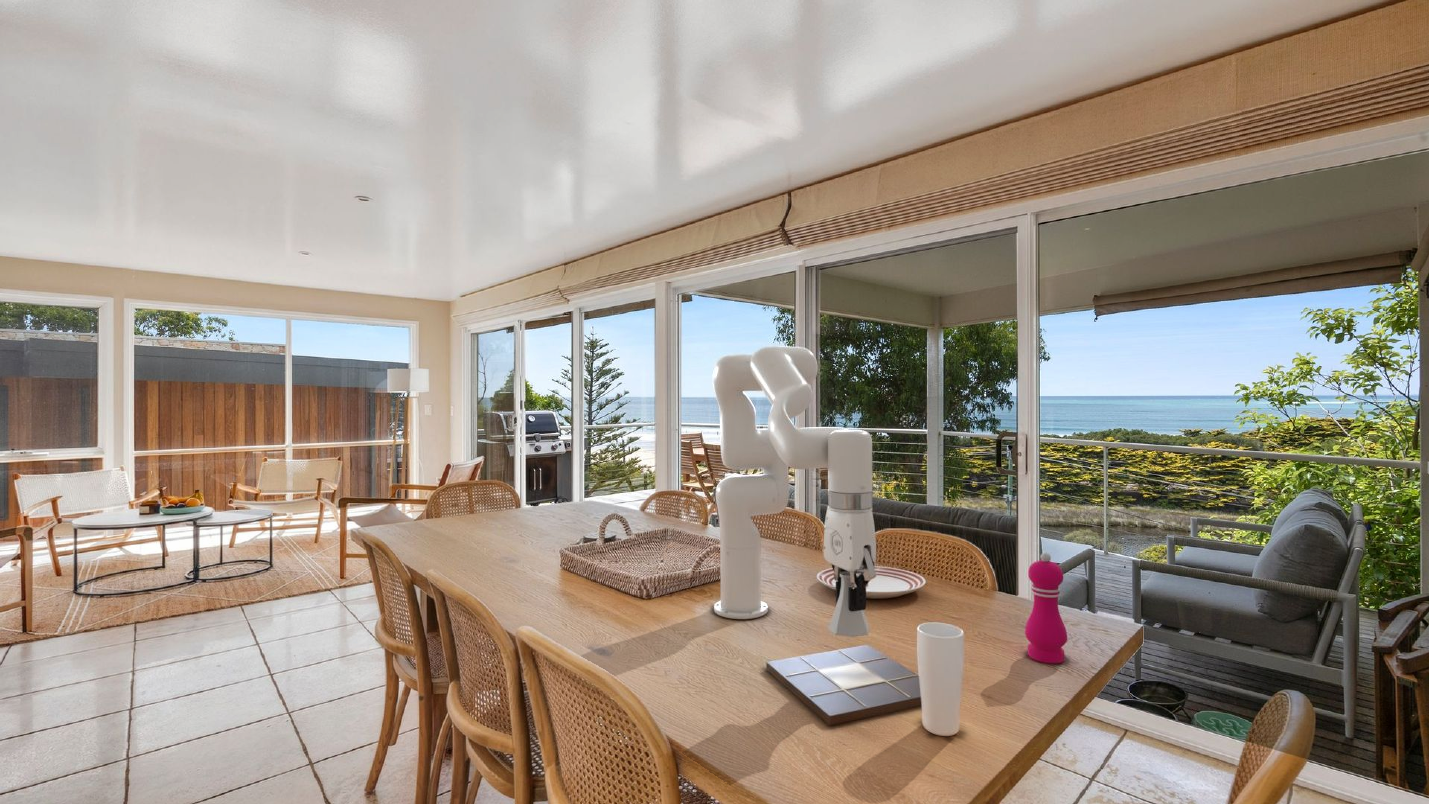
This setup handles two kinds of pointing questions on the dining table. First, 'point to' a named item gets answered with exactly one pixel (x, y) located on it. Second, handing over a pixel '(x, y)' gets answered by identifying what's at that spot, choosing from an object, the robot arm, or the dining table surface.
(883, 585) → the dinner plate
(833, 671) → the board
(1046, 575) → the pepper mill
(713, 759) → the dining table surface
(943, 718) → the drinking glass
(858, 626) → the flask
